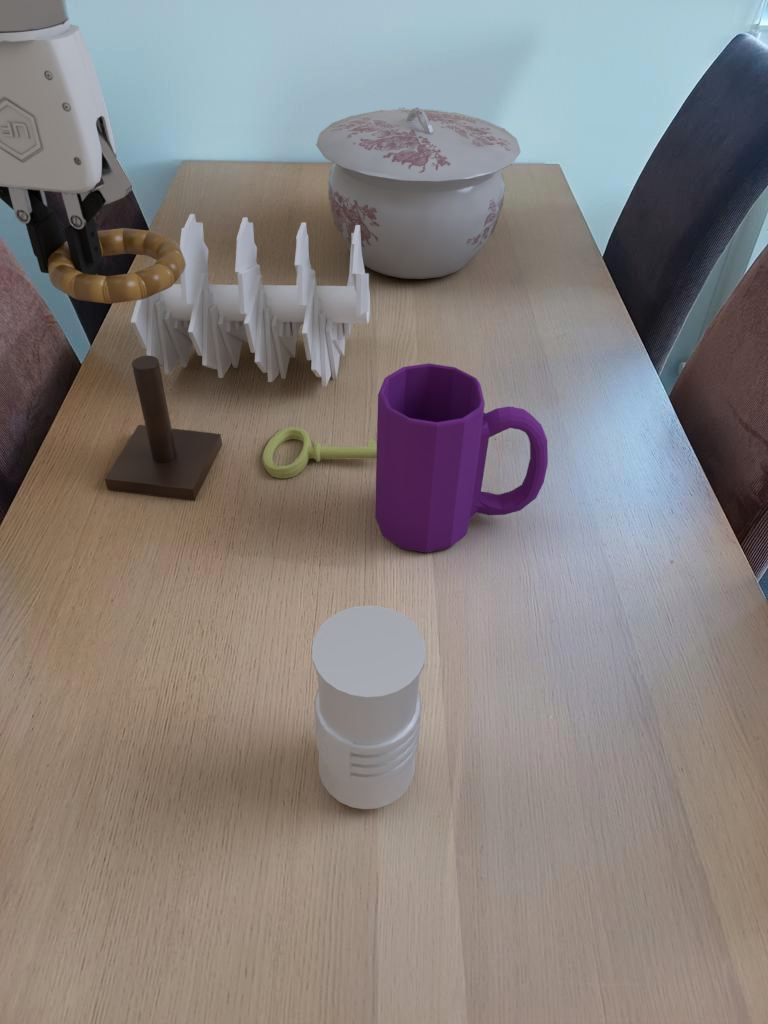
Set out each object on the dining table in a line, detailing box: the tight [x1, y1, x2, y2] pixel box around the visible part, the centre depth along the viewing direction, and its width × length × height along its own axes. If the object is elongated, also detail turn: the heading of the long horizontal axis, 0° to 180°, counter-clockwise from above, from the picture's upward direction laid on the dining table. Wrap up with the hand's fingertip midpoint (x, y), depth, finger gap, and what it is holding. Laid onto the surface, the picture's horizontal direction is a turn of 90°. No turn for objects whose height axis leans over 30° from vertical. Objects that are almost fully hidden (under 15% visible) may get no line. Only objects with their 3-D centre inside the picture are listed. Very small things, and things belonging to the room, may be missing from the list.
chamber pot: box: [316, 107, 522, 280], centre depth 112 cm, size 28×28×21 cm
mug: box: [374, 362, 549, 554], centre depth 72 cm, size 9×16×15 cm, turn 92°
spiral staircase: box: [130, 213, 371, 387], centre depth 91 cm, size 18×18×25 cm
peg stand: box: [104, 355, 223, 501], centre depth 78 cm, size 9×9×12 cm
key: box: [262, 426, 377, 479], centre depth 84 cm, size 7×12×2 cm, turn 102°
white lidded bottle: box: [311, 604, 427, 810], centre depth 52 cm, size 7×7×15 cm
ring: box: [48, 227, 186, 305], centre depth 64 cm, size 10×10×2 cm
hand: (71, 266), depth 65 cm, fingers closed on ring, 2 cm apart
